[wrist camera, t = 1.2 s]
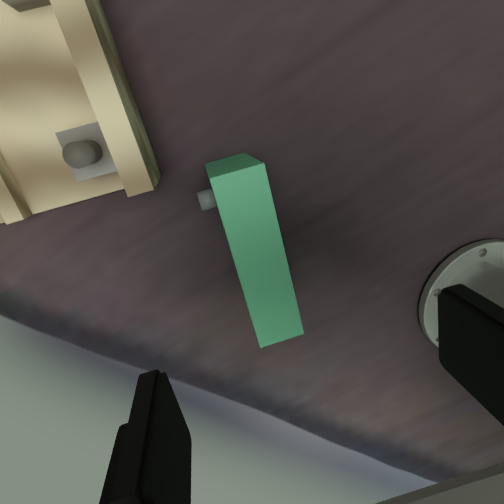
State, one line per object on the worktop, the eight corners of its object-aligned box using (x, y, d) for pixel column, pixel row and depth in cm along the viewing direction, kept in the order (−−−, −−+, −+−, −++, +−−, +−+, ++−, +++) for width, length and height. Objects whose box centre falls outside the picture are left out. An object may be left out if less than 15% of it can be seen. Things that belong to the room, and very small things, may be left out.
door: (277, 284, 31) (304, 333, 24) (233, 298, 31) (246, 352, 24) (243, 152, 27) (264, 163, 19) (192, 167, 27) (192, 183, 19)
